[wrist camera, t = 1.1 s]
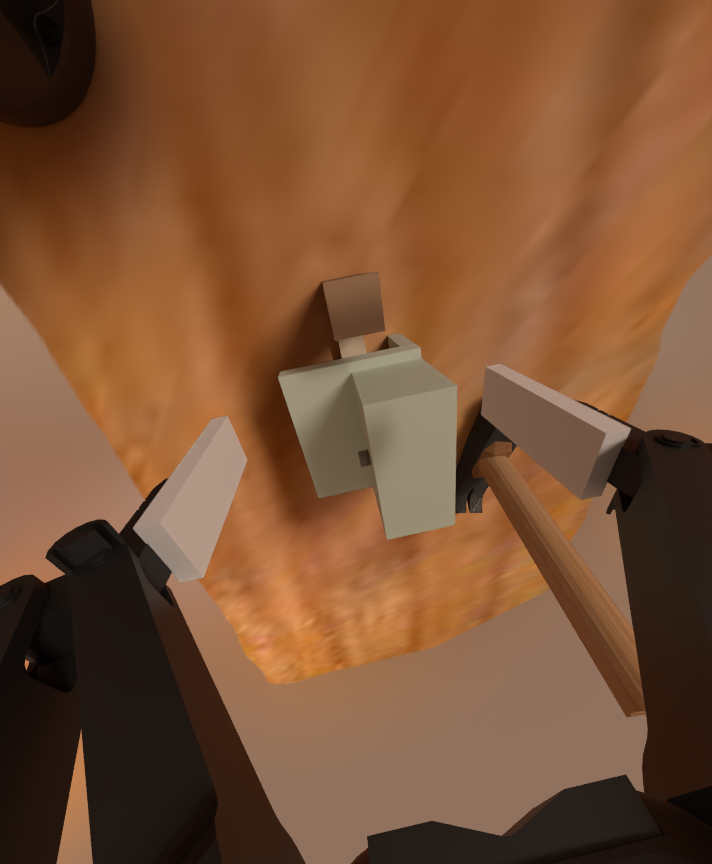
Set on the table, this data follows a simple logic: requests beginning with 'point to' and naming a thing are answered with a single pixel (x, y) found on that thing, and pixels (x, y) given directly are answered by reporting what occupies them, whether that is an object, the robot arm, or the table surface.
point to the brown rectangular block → (354, 310)
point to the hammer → (552, 560)
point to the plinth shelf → (380, 432)
